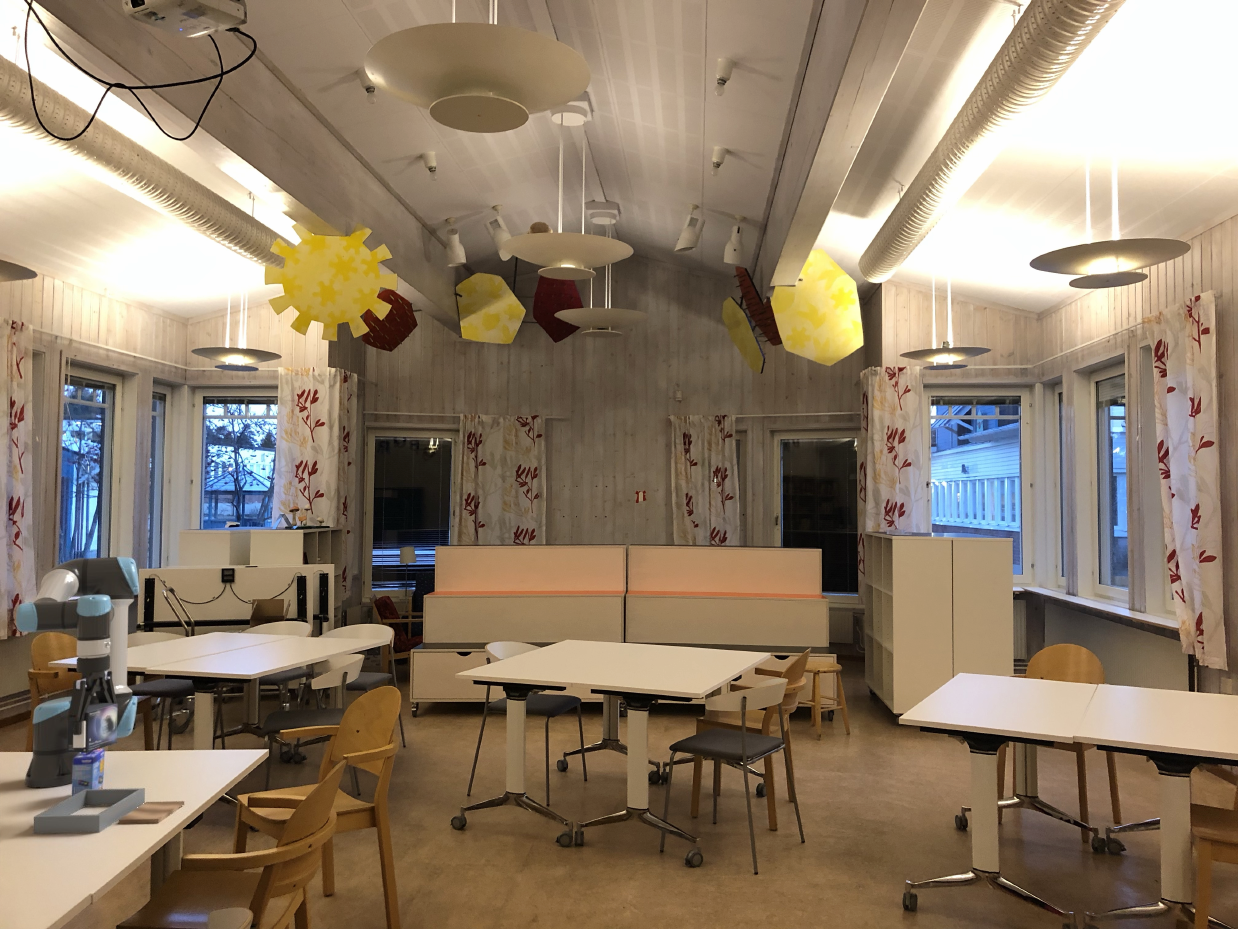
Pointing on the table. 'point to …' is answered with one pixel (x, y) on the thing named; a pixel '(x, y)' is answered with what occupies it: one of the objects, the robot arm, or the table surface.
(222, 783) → the table surface
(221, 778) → the table surface
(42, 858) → the table surface
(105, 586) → the robot arm
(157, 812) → the board
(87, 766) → the ink cartridge box
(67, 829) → the bin
